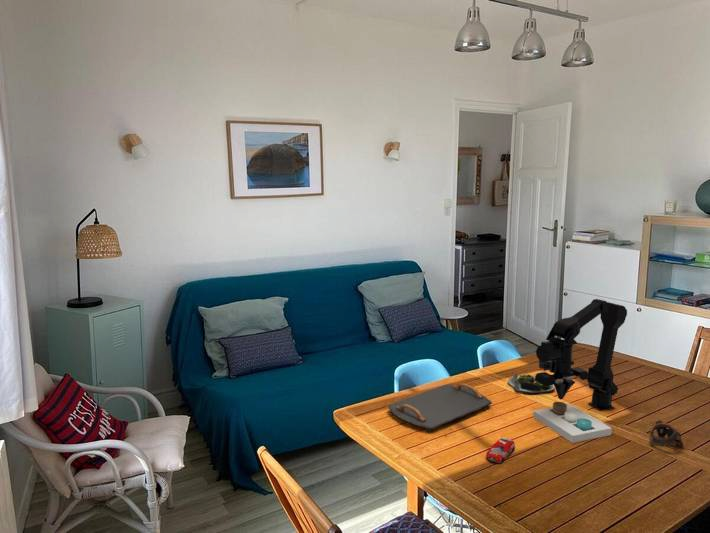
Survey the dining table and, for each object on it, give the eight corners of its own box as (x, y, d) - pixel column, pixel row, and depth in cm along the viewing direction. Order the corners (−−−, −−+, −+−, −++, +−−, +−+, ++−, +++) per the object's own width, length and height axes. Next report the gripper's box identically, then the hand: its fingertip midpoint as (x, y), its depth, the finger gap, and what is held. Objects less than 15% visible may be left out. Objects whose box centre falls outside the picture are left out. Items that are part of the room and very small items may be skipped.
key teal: (584, 426, 182) (584, 417, 182) (594, 432, 178) (594, 423, 178) (573, 428, 181) (573, 419, 180) (583, 434, 177) (583, 425, 176)
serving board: (451, 388, 219) (452, 374, 218) (498, 407, 201) (498, 391, 200) (380, 414, 196) (381, 398, 195) (426, 438, 178) (426, 421, 177)
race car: (499, 467, 160) (500, 454, 159) (483, 460, 164) (483, 448, 163) (517, 449, 170) (518, 438, 169) (501, 444, 173) (502, 432, 173)
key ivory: (571, 418, 188) (572, 410, 187) (581, 424, 184) (581, 415, 183) (561, 420, 186) (561, 412, 186) (570, 426, 182) (570, 417, 182)
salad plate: (496, 379, 229) (497, 369, 228) (534, 376, 232) (535, 365, 232) (519, 397, 210) (520, 386, 209) (560, 393, 214) (561, 382, 213)
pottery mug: (691, 454, 167) (684, 435, 164) (661, 464, 169) (653, 446, 166) (672, 427, 178) (666, 410, 175) (644, 437, 180) (637, 420, 177)
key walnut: (560, 409, 193) (560, 400, 193) (569, 414, 189) (569, 405, 189) (549, 411, 192) (550, 402, 191) (558, 416, 188) (559, 407, 187)
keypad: (569, 410, 197) (569, 404, 197) (611, 435, 179) (611, 428, 178) (533, 417, 192) (533, 410, 192) (572, 443, 173) (572, 435, 173)
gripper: (568, 347, 198) (566, 387, 200) (526, 353, 192) (524, 394, 194) (590, 356, 187) (587, 398, 190) (546, 363, 181) (544, 406, 184)
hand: (560, 399), depth 190 cm, fingers closed
